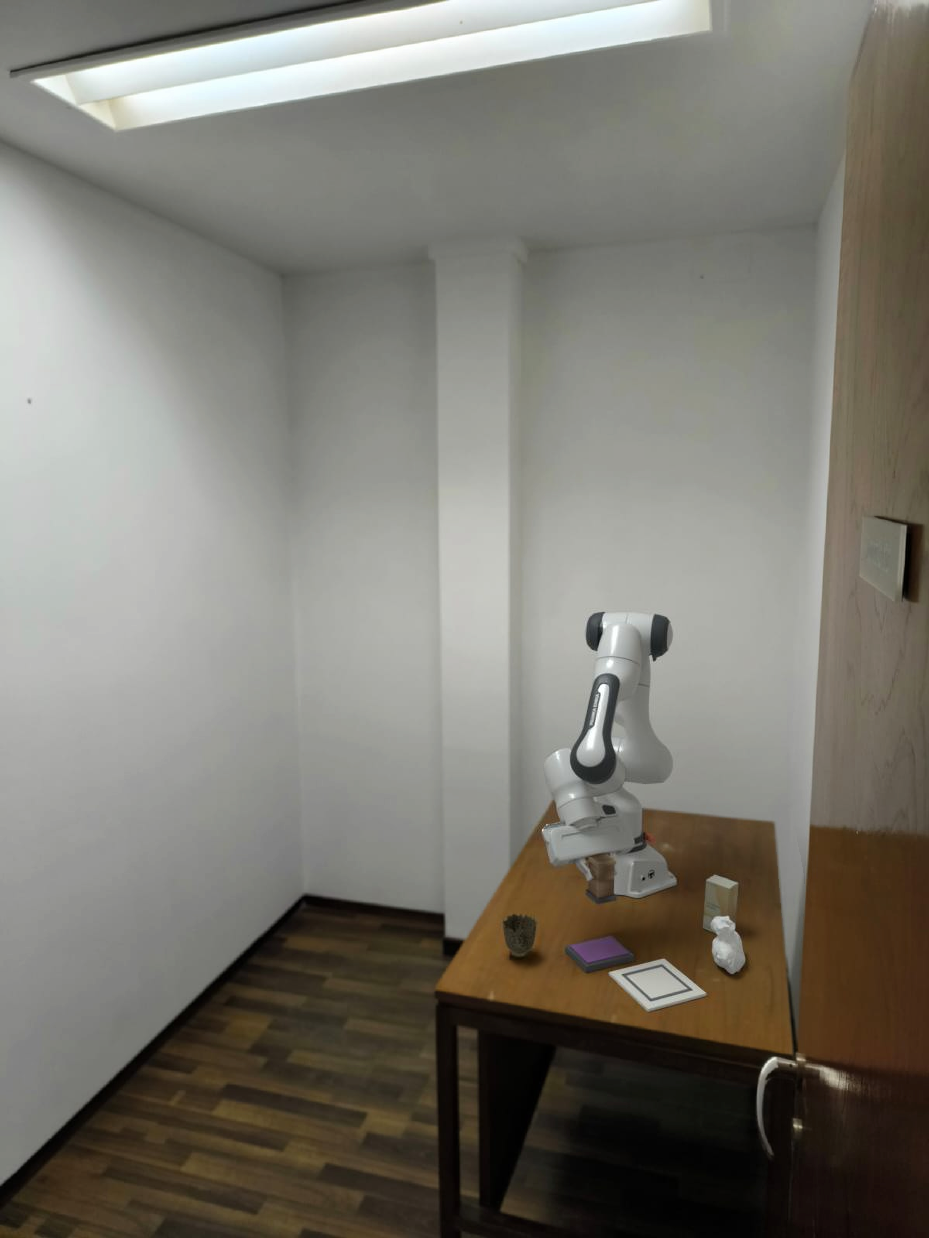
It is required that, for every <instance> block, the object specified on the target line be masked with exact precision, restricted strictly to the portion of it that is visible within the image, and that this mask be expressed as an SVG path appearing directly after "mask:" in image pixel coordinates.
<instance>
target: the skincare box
mask: <svg viewBox="0 0 929 1238" xmlns="http://www.w3.org/2000/svg"><path fill="white" fill-rule="evenodd" d="M739 885H740V884H739V882H737V881H734V880H731V879H729V878H726V877H722V876H721V875H720V876H719V875H717V874H713V875H711V876H710V877H708V878H707V879H706V880H705V889H704V907H703V918H702V919H703V921H702V928H703V929H705V930H706V931H709V932H711V933H714V934H715V935H717V933H716V932H715V931H714V930H712V928H711V922H712V920H713V919H714V917H717V916H721V917H724V916H725V917H726V916H729V919H730V920H731V921H732V922H733V923H735V925H736V922H737V909H738V908H737V907H738V895H739ZM734 931H736V929H735V930H734Z"/></svg>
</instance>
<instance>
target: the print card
mask: <svg viewBox="0 0 929 1238" xmlns="http://www.w3.org/2000/svg"><path fill="white" fill-rule="evenodd" d="M608 976H609V977H610V978H612V979H613V981H614V982H616V984H618V985H619V986H620V987H621V988H622V989H623V990H624V991H625V992H626V993H627V994H628V995H629V996H630V997H631V998H632V999H633V1000H635V1001H636V1002H637V1003H638V1004H639V1005H640V1006H641V1007H642V1008H643V1009H644V1010H645V1011H646V1012H647V1013H650V1012H653V1011H656V1010H660V1009H664V1008H667V1007H671V1006H674V1005H678V1004H682V1003H687V1002H690V1001H693V1000H697V999H699V998H700V999H701V998H704V997H707V992H705V991H704V990H703V989H702V988H700V987H699V986H698V985H697V984H696V983H694V982H693V981H692V980H691V979H690V978H688V977H687V976H686V975H685V974H684V973H683V972H681V971H680V970H678V969H677V967H675V966H674V965H672V963H670V962H669V961H667V960H666V958H661V959H656V960H652V961H649V962H645V963H641V964H636V965H632V966H628V967H625V968H620V969H616V970H613V971H609V972H608Z"/></svg>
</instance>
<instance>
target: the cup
mask: <svg viewBox="0 0 929 1238" xmlns="http://www.w3.org/2000/svg"><path fill="white" fill-rule="evenodd" d="M537 925H538V921H537V920H536V918H535V917H533V918H532V916H531V915H528V914H527V913H526V914H525V915H524V916H523V914H522V913H519V915H518V914H516V913H512V914H511V915H507V917H506V920H505V918H503V920H502V927H503V935H504V936H503V937H504V941H505V945H506V947H507V948H508V949H509V950H510V954H511V956H512V957H513V958H515V959H519V960H521V959H525V958H527V956H528V955H529V951H530V950H532V947H534V943H535V939H536V932H537Z"/></svg>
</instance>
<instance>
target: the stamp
mask: <svg viewBox="0 0 929 1238" xmlns="http://www.w3.org/2000/svg"><path fill="white" fill-rule="evenodd" d="M587 860H588V868H589V869H590V870H594V874H595V875H596V879H594V880H592V881H587V882H588V883H587V884H588V885H587V887H588V888H587V889H585V896H586V897H588V899H590V900H591V901H592V902H594V904H595V905H597V906H599V905H601V904H607V903H612V902H615V901H617V897H618V894H614V870H615V864H616V860H614V859H613V858H612V857H610V856H609V855H608V854H606V853H604V854H599V855H594V856H589V857H587Z"/></svg>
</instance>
